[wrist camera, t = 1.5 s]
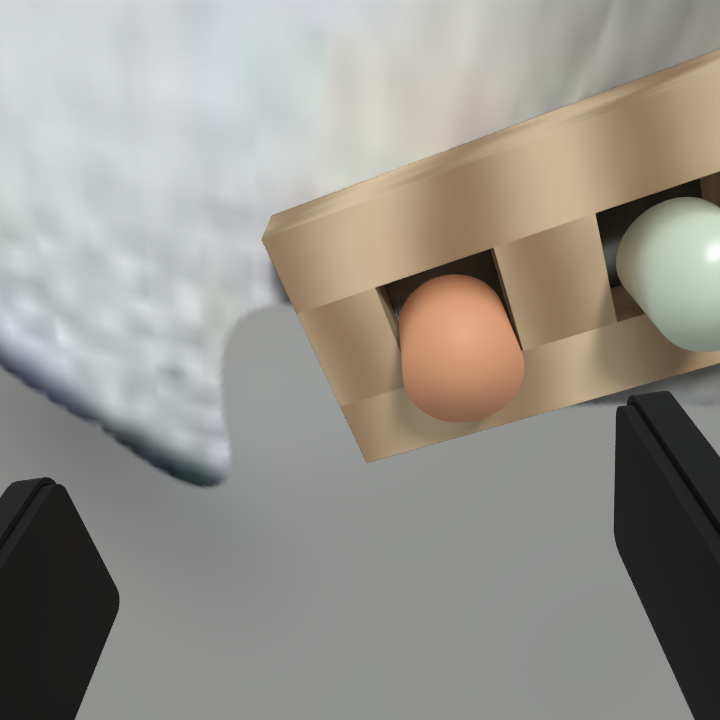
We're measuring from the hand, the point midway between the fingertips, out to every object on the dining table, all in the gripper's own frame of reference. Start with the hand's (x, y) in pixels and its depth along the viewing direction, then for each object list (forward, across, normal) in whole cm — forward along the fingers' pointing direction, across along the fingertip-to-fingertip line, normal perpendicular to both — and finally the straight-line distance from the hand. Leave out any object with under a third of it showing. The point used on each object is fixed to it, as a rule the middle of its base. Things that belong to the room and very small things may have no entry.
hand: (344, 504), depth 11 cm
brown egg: (+16, -3, +5) cm, 17 cm away
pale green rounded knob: (+16, -12, +3) cm, 20 cm away
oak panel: (+19, -12, +3) cm, 23 cm away
